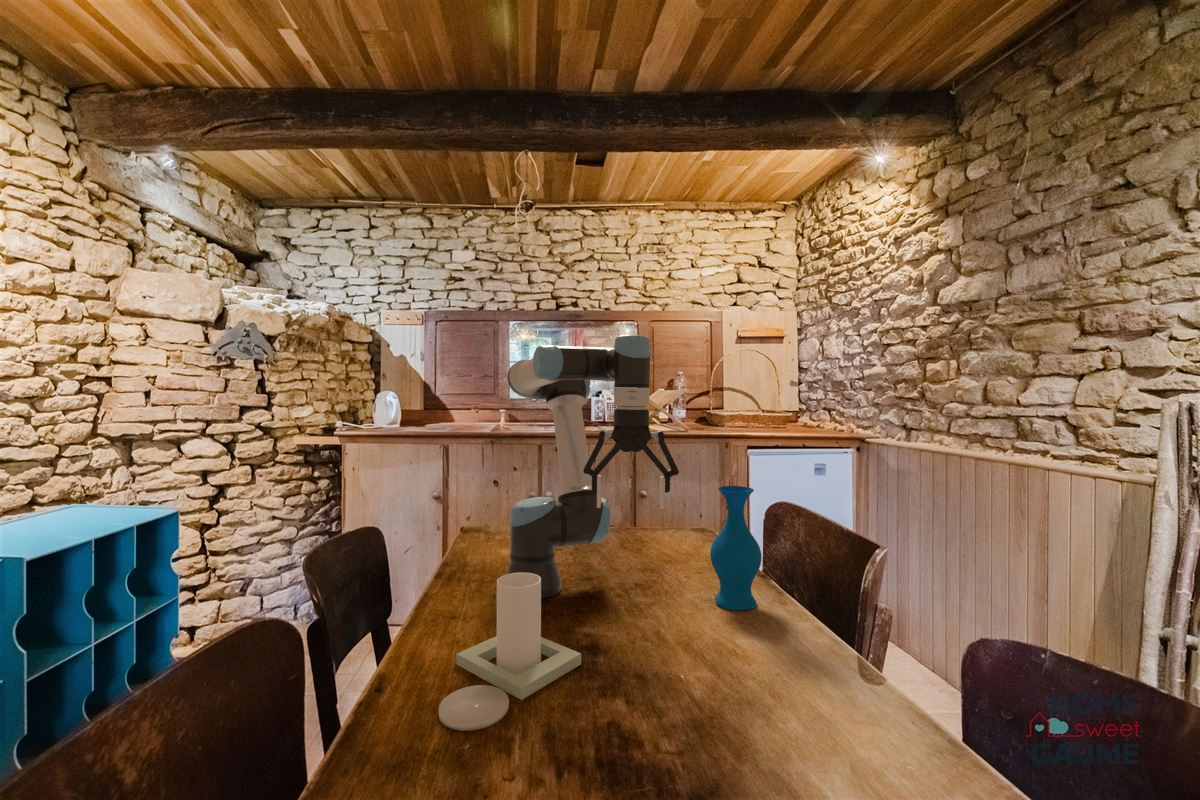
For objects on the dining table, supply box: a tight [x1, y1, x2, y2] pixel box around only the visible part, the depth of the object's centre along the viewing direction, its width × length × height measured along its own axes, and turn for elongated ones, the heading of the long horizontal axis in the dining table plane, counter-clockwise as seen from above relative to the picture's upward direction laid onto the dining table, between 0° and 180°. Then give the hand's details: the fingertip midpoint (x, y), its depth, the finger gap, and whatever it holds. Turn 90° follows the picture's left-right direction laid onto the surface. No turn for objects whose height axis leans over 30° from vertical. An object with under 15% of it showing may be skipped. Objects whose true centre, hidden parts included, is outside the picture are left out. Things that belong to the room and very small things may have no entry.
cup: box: [496, 572, 542, 676], centre depth 98 cm, size 8×8×16 cm
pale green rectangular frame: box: [455, 635, 582, 701], centre depth 98 cm, size 18×15×2 cm
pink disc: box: [438, 684, 510, 732], centre depth 84 cm, size 11×11×1 cm
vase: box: [709, 485, 763, 612], centre depth 127 cm, size 12×13×28 cm
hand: (630, 507), depth 112 cm, fingers open, 13 cm apart
